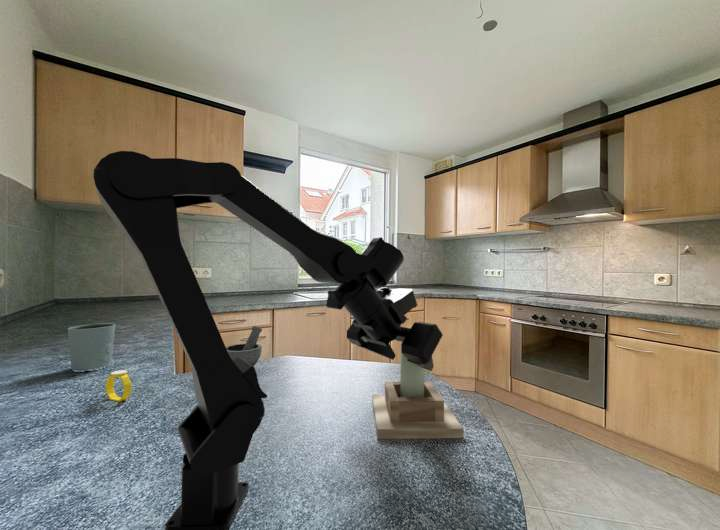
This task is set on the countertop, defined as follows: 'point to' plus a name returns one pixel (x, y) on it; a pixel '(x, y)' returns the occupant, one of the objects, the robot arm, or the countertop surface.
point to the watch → (126, 382)
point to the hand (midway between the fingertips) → (411, 362)
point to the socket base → (413, 415)
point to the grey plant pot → (91, 345)
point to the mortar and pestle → (247, 348)
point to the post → (411, 379)
